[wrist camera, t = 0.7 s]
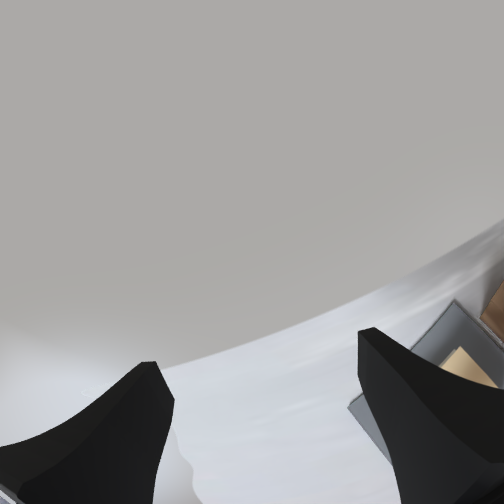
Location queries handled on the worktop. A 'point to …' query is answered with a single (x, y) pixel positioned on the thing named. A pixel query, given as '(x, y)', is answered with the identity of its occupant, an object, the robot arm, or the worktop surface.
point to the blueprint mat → (443, 360)
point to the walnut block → (495, 313)
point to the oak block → (467, 368)
